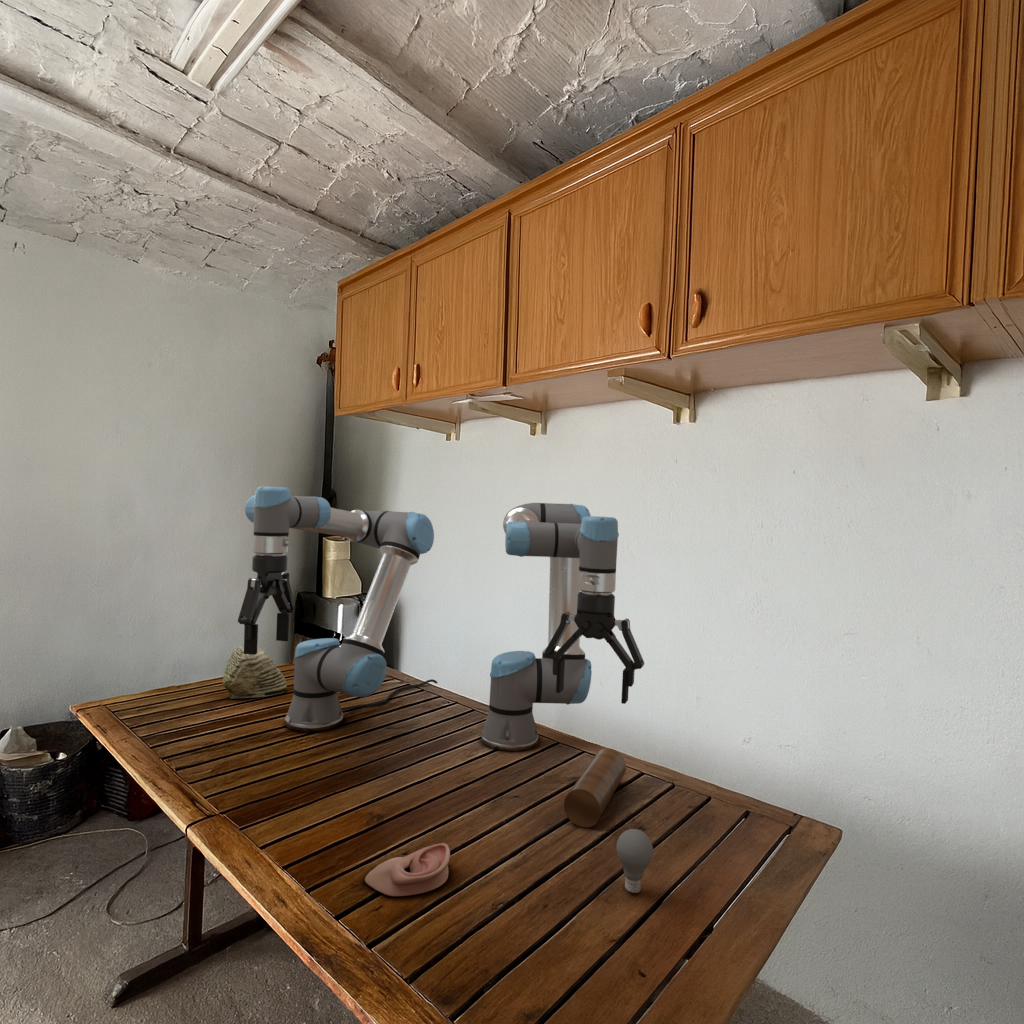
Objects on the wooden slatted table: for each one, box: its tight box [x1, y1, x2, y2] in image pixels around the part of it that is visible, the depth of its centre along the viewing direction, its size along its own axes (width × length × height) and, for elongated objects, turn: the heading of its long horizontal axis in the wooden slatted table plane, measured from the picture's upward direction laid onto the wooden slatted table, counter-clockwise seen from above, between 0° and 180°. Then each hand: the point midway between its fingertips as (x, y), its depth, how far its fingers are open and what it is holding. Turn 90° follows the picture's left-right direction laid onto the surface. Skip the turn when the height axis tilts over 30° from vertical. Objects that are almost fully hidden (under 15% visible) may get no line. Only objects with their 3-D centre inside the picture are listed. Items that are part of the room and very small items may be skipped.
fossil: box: [222, 646, 288, 699], centre depth 198 cm, size 9×18×15 cm, turn 132°
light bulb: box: [615, 828, 654, 894], centre depth 106 cm, size 6×6×10 cm
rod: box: [563, 747, 627, 828], centre depth 137 cm, size 24×8×8 cm, turn 158°
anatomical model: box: [364, 842, 451, 897], centre depth 107 cm, size 13×4×12 cm
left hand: (267, 647), depth 145 cm, fingers open, 13 cm apart
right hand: (591, 696), depth 129 cm, fingers open, 13 cm apart
